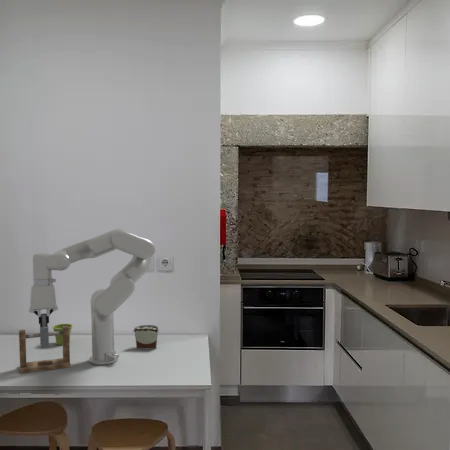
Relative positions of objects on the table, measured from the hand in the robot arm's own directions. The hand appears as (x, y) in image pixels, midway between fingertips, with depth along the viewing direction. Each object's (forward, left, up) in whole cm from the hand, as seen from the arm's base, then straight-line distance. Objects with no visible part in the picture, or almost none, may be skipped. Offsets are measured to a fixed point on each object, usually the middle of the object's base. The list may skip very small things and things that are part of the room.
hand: (44, 325), depth 226 cm
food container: (-16, -46, -18) cm, 52 cm away
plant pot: (+22, -26, -18) cm, 39 cm away
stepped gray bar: (0, 0, -9) cm, 9 cm away
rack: (0, 0, -18) cm, 18 cm away
